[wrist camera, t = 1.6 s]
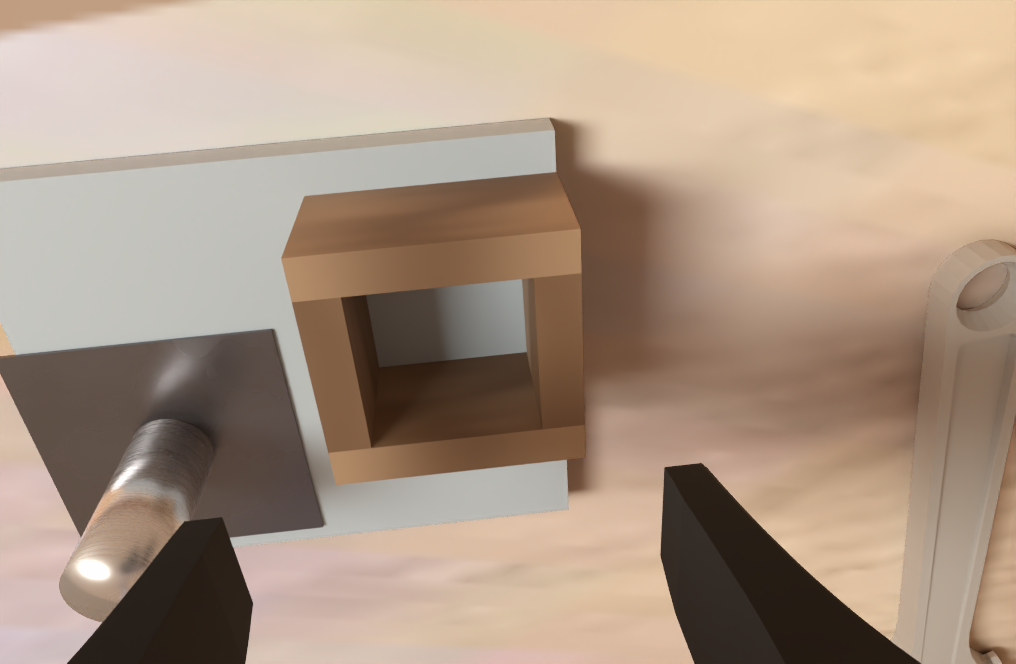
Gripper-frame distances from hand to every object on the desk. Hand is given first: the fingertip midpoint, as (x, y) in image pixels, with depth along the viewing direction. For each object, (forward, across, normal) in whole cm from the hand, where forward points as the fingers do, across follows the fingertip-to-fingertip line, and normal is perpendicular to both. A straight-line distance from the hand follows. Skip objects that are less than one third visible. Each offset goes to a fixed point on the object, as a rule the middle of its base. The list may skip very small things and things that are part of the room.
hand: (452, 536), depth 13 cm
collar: (+8, 0, 0) cm, 8 cm away
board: (+9, +4, +2) cm, 10 cm away
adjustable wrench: (+10, -17, +13) cm, 24 cm away
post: (+9, +8, +4) cm, 13 cm away
